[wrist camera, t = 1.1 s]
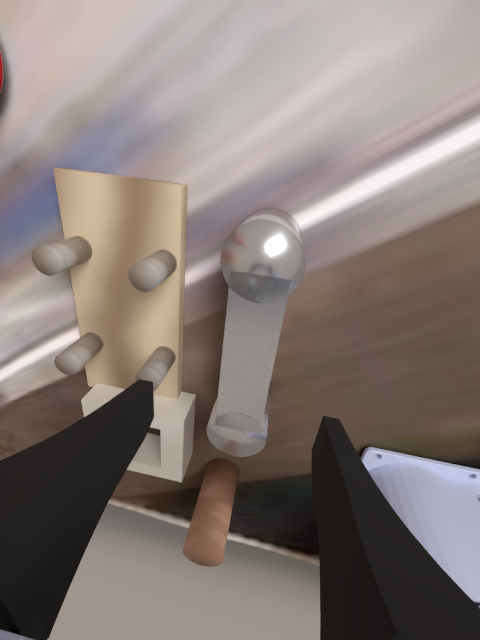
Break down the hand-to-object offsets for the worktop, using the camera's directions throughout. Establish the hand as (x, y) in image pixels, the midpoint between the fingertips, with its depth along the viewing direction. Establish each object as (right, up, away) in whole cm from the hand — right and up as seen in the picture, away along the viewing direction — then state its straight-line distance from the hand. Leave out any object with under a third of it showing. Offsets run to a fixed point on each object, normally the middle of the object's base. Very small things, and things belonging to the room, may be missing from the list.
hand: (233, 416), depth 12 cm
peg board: (-7, +5, +9) cm, 13 cm away
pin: (-1, -10, +15) cm, 18 cm away
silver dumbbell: (+1, +4, +8) cm, 9 cm away
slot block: (-8, -4, +14) cm, 16 cm away
